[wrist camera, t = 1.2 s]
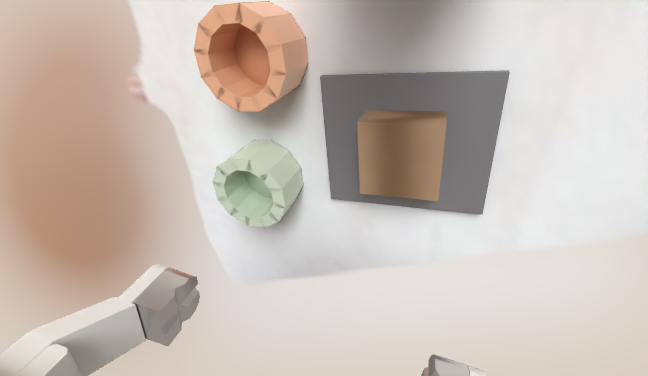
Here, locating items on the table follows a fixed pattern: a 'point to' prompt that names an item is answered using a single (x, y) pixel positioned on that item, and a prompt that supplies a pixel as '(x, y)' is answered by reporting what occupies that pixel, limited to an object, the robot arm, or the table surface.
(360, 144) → the cardboard box
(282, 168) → the bowl sage
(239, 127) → the table surface
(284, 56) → the bowl terracotta
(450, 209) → the mat
